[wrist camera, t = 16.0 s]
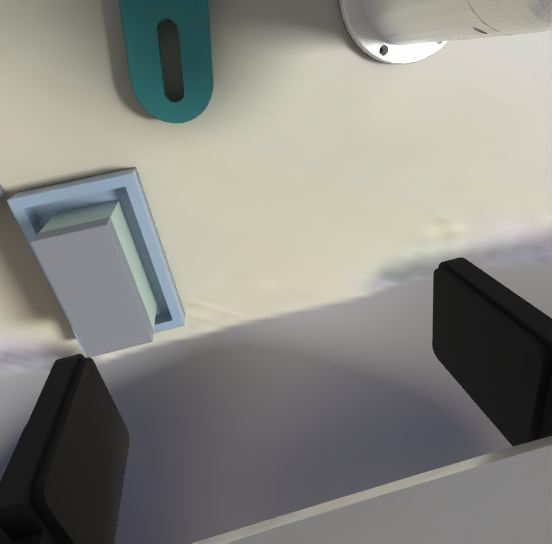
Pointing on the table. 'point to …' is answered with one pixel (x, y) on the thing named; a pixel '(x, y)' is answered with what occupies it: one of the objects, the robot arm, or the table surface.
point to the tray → (128, 190)
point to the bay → (2, 192)
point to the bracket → (147, 56)
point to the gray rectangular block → (98, 277)
